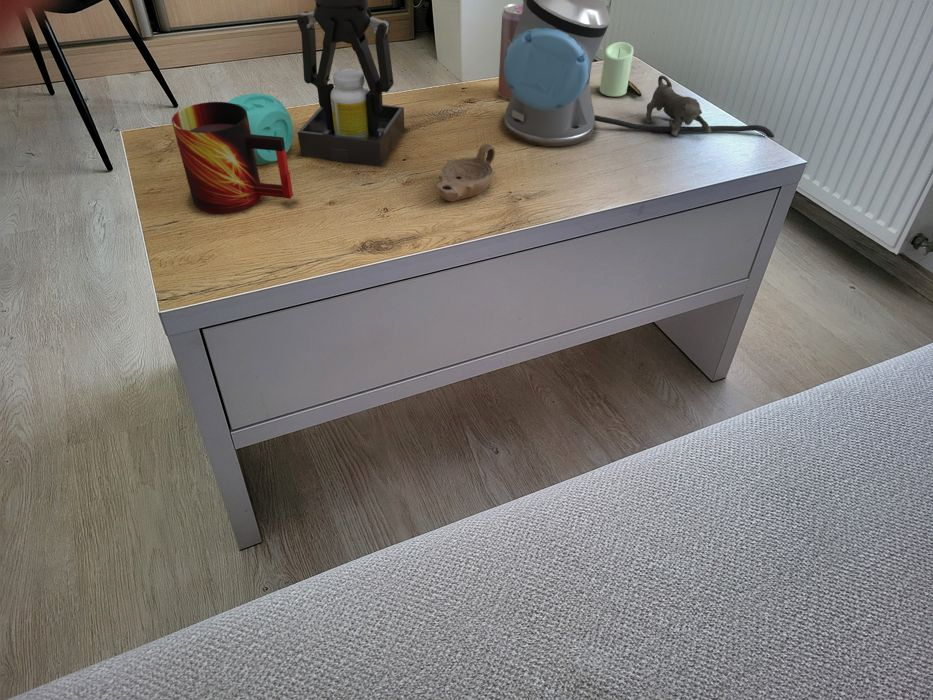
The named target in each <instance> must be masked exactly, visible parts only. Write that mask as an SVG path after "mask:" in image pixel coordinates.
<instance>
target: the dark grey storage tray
mask: <svg viewBox="0 0 933 700" xmlns="http://www.w3.org/2000/svg"><path fill="white" fill-rule="evenodd" d="M404 108H405V107H404V106H399V105H390V104H383V109H382V111H381V112H380V114H378V117H381V118H389V119H391V121H390V122H389V124H388V125H387V127H386V128H385V129H384V131H383V132H382V134H381V135H380V137H379V138H378V139H377V140H373V139H364V138H356V137H348V136H340V135H331V134H323V133H315V132H314V131H315V130H316V129H317V127H318V126H319V125H320V124H321V123H322V122H323V121H324V119H326V113H325V108H321V107H320V106H319V107H318V109H316V111H315V112H314V113H313V114H312V115H311V116H310V118H308V120H307V121H306V122H305V123H304V124H303V125H302V126H301V127H300V128H299V130H297V139H298V145H299V152H300V157H306V158H314V159H322V160H330V161H333V160H332V157H331V148H334V149H342V150H347V151H348V153H349V162H348V163H355V164H361V165H362V164H363V165H370V166H377V167H381V166H383V164H384V162H385V161H386V159H387V158H388V156H389V155H390V153H391V152H392V150H391V145H390V139H391V138H392V136H393V135H394V133H395V132H396V143H397V142H398V141H399V139H400V138H401V136H402V135H403V134H404V132H405V130H406V128H405V109H404Z"/></svg>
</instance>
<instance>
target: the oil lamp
mask: <svg viewBox="0 0 933 700" xmlns="http://www.w3.org/2000/svg"><path fill="white" fill-rule="evenodd" d="M495 157H496V149H495V147H494V146H493V145H492V144H489V143H483V144H482V145H481V146H480V147H479V149H478V152H477V154H476V157H461V158H457V159H453V160H450V161H448V162H447V163H445V164H444V165H443V166H442V167H441V168H442V169H441V172H438V179H439V181H440V182H439V183H435V184H434V188H435V189H436V190H437V192H438V193H439V195H440V196H441V197H442V198H443V199H444V200H445V201H448V202H454V201H460V200H463V199H467V198H472V197H475V196H478V195H480V194H482V193H483V192H484V191H485V190H486V189H487V188H488V186H489V185H490V184H491V180H492V177H493V174H494V171H493V167H492V166H491V165H492V164H493V162H494V160H495Z"/></svg>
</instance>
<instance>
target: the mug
mask: <svg viewBox="0 0 933 700" xmlns="http://www.w3.org/2000/svg"><path fill="white" fill-rule="evenodd" d="M171 117H172V118H171V123H172V127H173V128H172V129H173V131H174V135H175V139H176V143H177V146H178V147H177V148H178V150H179V153H180V154H179V155H180V157H181V161H182V165H183V170H184V173H185V176H186V180H187V184H188V188H189V191H190V196H191V200H192V203H193V205H194V207H195V208H196V209H197V210H198V211H200V212H203V213H207V214H210V215H230V214H231V215H232V214H236V213H240V212H243V211H246V210H249V209H250V208H253V207H254V206H255V205H257V204H258V203H259V202H260V201H261V200H262V197H272V198H279V199H280V198H281V199H288V200H291V199H292V198H293V197H294V190H293V185H292V180H291V179H292V177H291V173H290V171H289V163H288V159H287V153H286V151H285V145H284V139H283V137H275V136H264V135H253V134H251V131H250V126H249V121H248V116H247V112H246V110H245V109H244V108H243V107H241V106H239V105H236V104H233V103H228V101H227V102H226V101H208V102H200V103H196V104H192V105H189V106H186V107H184V108H182V109H179V110H178V111H177V112H176V113H174V115H173V116H171ZM254 149H263V150H273V151H276V155H277V161H276V162H277V167H278V173H279V178H280V184H277V183H267V182H266V183H265V182H261V179H260V174H259V168H258V165H257V163H256V158H255V152H254Z"/></svg>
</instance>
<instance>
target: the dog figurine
mask: <svg viewBox="0 0 933 700" xmlns="http://www.w3.org/2000/svg"><path fill="white" fill-rule="evenodd" d="M664 81H665V83H666V84H665V83H664ZM657 83H658V85H657V87H656V88H655V90H654V91H653V94H652V98H651V100H650V102H648V103H647V105H646V114H645V115H646V116H645V123H646V124H651V123H652V119H653V118H652V113H653V110H654V109H656V111H658V112H659V111H661V110H663V113H664V114H666V116H668V117H669V118H670V119H672V120H669V121H668V126H672V127H673V129H672V132H670V134H671V135H672V136H674V137H678V136H679V135H678V133H680V132H679V131H680V129H681V126H683V123H684V124H685V126H690V125H692V123H693V122H694V121H696V122H698V123H699V124H700V125H701V126H702V128H703V129H705V132H704V133H706V134H710V133H712V132H713V131H711V129H710V127H709V126H710V125H709V124H708V122H707V121H706V120H705V119H704V118H703V117H702V116H701V115H702V113H703V111H702V109H701V105H700V103H699V101H698V100H697V99H696V98H693V97H691V96H683V95H680V94H678V93H677V92H675V91H674V89H673V85H672V82H671V81H670V79H669V78H668V77H667V76H665V75H659V77H657Z"/></svg>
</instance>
